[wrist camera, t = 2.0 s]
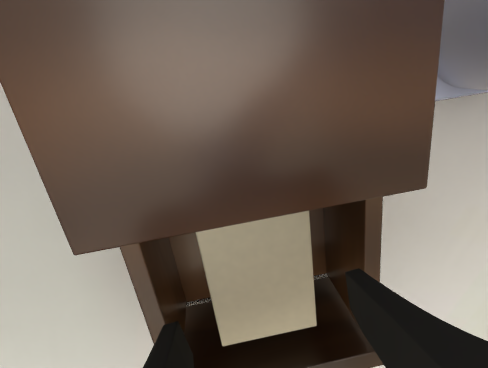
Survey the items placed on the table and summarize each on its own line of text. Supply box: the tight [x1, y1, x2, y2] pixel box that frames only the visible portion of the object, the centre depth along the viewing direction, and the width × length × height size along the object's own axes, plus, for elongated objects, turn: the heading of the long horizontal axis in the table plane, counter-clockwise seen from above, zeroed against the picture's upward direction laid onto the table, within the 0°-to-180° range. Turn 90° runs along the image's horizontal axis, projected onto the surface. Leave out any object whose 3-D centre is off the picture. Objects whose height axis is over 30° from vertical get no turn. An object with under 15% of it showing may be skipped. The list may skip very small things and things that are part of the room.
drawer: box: [120, 197, 384, 368], centre depth 17 cm, size 18×12×6 cm, turn 9°
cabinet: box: [0, 0, 445, 255], centre depth 12 cm, size 14×13×8 cm
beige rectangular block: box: [196, 211, 317, 346], centre depth 16 cm, size 5×8×4 cm
